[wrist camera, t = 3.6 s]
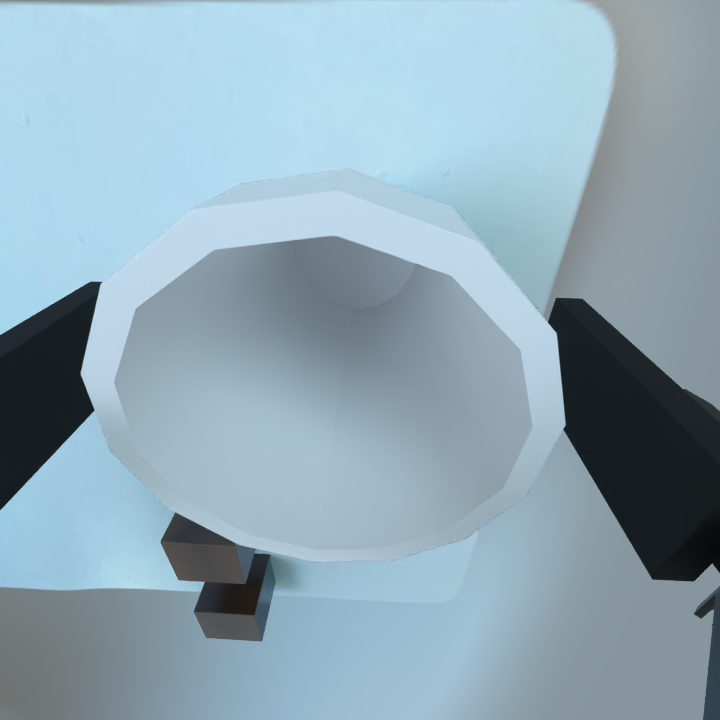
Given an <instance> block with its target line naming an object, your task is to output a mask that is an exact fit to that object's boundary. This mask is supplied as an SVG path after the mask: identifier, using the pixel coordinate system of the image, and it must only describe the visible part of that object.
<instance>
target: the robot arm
mask: <svg viewBox="0 0 720 720" xmlns="http://www.w3.org/2000/svg"><path fill="white" fill-rule="evenodd" d="M101 283H103V282H89V283H87V284H86V285H84V286H82V287H81V288H79V289H77V290H76V291H74V292H72V293H71V294H69V295H67V296H66V297H64V298H62V299H60V300H59V301H57V302H55V303H54V304H52V305H50V306H49V307H47V308H45V309H44V310H42V311H40V312H38V313H37V314H35V315H33V316H32V317H30V318H28V319H27V320H25V321H23V322H22V323H20V324H18V325H17V326H15V327H13V328H11V329H10V330H8V331H6V332H5V333H3V334H1V335H0V510H1V509H2V508H3V507H4V506H5V505H6V504H7V503H8V502H9V500H10V499H11V498H12V497H13V496H14V495H15V494H16V493H17V492H18V491H19V490H20V489H21V488H22V487H23V486H24V485H25V484H26V482H27V481H28V480H29V479H30V478H31V477H32V476H33V475H34V474H35V473H36V472H37V471H38V470H39V469H40V468H41V467H42V466H43V464H44V463H45V462H46V461H47V460H48V459H49V458H50V457H51V456H52V455H53V454H54V453H55V452H56V451H57V450H58V449H59V448H60V446H61V445H62V444H63V443H64V442H65V441H66V440H67V439H68V438H69V437H70V436H71V435H72V434H73V433H74V432H75V431H76V430H77V428H78V427H79V426H80V425H81V424H82V423H83V422H84V421H85V420H86V419H87V418H88V417H89V416H90V415H91V414H92V413H93V412H94V407H93V405H92V402H91V399H90V397H89V394H88V392H87V389H86V387H85V384H84V381H83V379H82V376H81V370H82V365H83V361H84V356H85V352H86V347H87V343H88V338H89V334H90V329H91V325H92V321H93V316H94V312H95V307H96V303H97V298H98V294H99V289H100V285H101ZM548 323H549V325H550V326H551V327H552V328H553V330H554V331H555V332H556V333H557V341H558V351H559V362H560V372H561V382H562V392H563V403H564V413H565V423H566V425H565V427H564V429H563V430H564V431H565V433H566V434H567V436H568V438H569V440H570V441H571V443H572V445H573V446H574V448H575V450H576V451H577V453H578V455H579V456H580V458H581V460H582V462H583V463H584V465H585V467H586V468H587V470H588V471H589V473H590V475H591V477H592V478H593V480H594V482H595V483H596V485H597V487H598V488H599V490H600V492H601V494H602V495H603V497H604V498H605V500H606V502H607V504H608V505H609V507H610V509H611V510H612V512H613V514H614V515H615V517H616V518H617V520H618V522H619V524H620V526H621V527H622V529H623V530H624V532H625V534H626V536H627V537H628V539H629V541H630V542H631V544H632V546H633V547H634V549H635V551H636V552H637V554H638V556H639V557H640V559H641V561H642V563H643V564H644V566H645V568H646V569H647V571H648V573H649V574H650V576H651V578H652V579H654V580H675V581H695V580H696V579H697V578H698V577H699V576H700V575H701V574H702V573H703V572H704V570H706V569H707V568H708V567H709V566H710V565H711V564H712V563H713V565H714V566H715V567H716V569H717V570H718V571H719V573H720V411H719V410H717V409H716V408H715V407H714V406H713V405H712V404H710V403H709V402H707V401H705V400H703V399H702V398H700V397H698V396H696V395H695V394H693V393H691V392H689V391H688V390H686V389H682V388H681V387H680V386H679V385H678V384H676V383H675V382H674V381H673V380H672V379H671V378H670V377H669V376H668V375H666V374H665V373H664V372H663V371H662V370H661V369H660V368H659V367H657V366H656V365H655V364H654V363H653V362H652V361H651V360H650V359H649V358H648V357H646V356H645V355H644V354H643V353H642V352H641V351H640V350H639V349H638V348H636V347H635V346H634V345H633V344H632V343H631V342H630V341H629V340H628V339H626V338H625V337H624V336H623V335H622V334H621V333H620V332H619V331H618V330H616V329H615V328H614V327H613V326H612V325H611V324H610V323H609V322H607V321H606V320H605V319H604V318H603V317H602V316H601V315H599V314H598V313H597V312H596V311H595V310H594V309H593V308H592V307H591V306H590V305H589V304H587V303H586V302H585V301H584V300H583V299H572V298H556V300H555V303H554V306H553V309H552V312H551V315H550V318H549V321H548ZM711 610H714V617H713V624H712V626H713V627H712V637H711V647H710V657H709V667H708V677H707V687H706V697H705V706H704V717H703V720H720V587H718V588H717V589H716V590H715V591H714V592H713V593H712V594H711V595H710V596H709V597H708V598H707V599H705V600H704V601H703V602H702V603H701V604H700V605H699V606H698V607H697V609H696V611H695V613H694V614H695V615H696V616H698V617H699V618H702V617H704V616H705V615H706V614H707V613H708V612H709V611H711Z"/></svg>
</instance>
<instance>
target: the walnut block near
mask: <svg viewBox="0 0 720 720" xmlns="http://www.w3.org/2000/svg"><path fill="white" fill-rule="evenodd" d="M161 544H162V546H163V549H164V551H165V553H166V555H167V557H168V559H169V561H170V563H171V565H172V567H173V569H174V572H175V574H176V576H177V578H178V580H184V581H201V582H217V583H234V584H246V580H247V577H248V573H249V570H250V567H251V563H252V560H253V556H254V553H255V548H250V547H246V546H241V545H238V544H236V543H234V542H233V541H231V540H229V539H227V538H225V537H223V536H221V535H219V534H217V533H215V532H213V531H211V530H209V529H207V528H205V527H203V526H201V525H199V524H197V523H195V522H193V521H191V520H189V519H188V518H186V517H184V516H182V515H180V514H178V513H175V514H174V516H173V518H172V520H171V522H170V524H169V526H168V528H167V530H166V532H165V534H164V536H163V538H162V540H161Z"/></svg>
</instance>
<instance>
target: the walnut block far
mask: <svg viewBox="0 0 720 720" xmlns="http://www.w3.org/2000/svg"><path fill="white" fill-rule="evenodd" d="M274 586H275V579H274V574H273V569H272V565H271V560H270V555H259V554H254V556H253V560H252V563H251V567H250V570H249V573H248V577H247V580H246V584H234V583H217V582H205V583H204V586H203V588H202V591H201V594H200V596H199V599H198V602H197V605H196V607H195V610H194V613H195V615H196V617H197V619H198V621H199V624H200V626H201V628H202V630H203V632H204V634H205V636H206V638H217V639H233V640H249V641H262V639H263V635H264V630H265V626H266V621H267V617H268V612H269V608H270V604H271V599H272V595H273V590H274Z"/></svg>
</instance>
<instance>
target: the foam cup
mask: <svg viewBox="0 0 720 720" xmlns="http://www.w3.org/2000/svg"><path fill="white" fill-rule="evenodd" d="M81 376H82V379H83V381H84V384H85V387H86V389H87V392H88V394H89V397H90V399H91V402H92V405H93V407H94V410H95V412H96V415H97V417H98V420H99V423H100V425H101V428H102V430H103V433H104V436H105V438H106V441H107V443H108V446H109V448H110V451H111V452H112V453H113V454H114V455H115V456H116V457H117V458H118V459H119V460H120V461H121V462H122V463H123V464H124V465H125V466H126V467H127V468H128V469H129V470H130V471H131V472H132V473H133V474H134V475H135V476H136V477H137V478H138V479H139V480H140V481H141V482H142V483H143V484H144V485H145V486H146V487H147V488H148V489H149V490H150V491H151V492H152V493H153V494H154V495H155V496H156V497H157V498H158V499H159V500H160V501H161V502H162V503H163V504H164V505H165V506H166V507H167V508H168V509H170V510H172V511H174V512H176V513H178V514H180V515H182V516H184V517H186V518H188V519H189V520H191V521H193V522H195V523H197V524H199V525H201V526H203V527H205V528H207V529H209V530H211V531H213V532H215V533H217V534H219V535H221V536H223V537H225V538H227V539H229V540H231V541H233V542H234V543H236V544H238V545H241V546H246V547H250V548H255V549H259V550H264V551H268V552H273V553H277V554H282V555H286V556H291V557H295V558H300V559H304V560H309V561H313V562H341V561H386V560H395V559H399V558H402V557H406V556H409V555H412V554H416V553H419V552H422V551H426V550H429V549H433V548H436V547H439V546H443V545H446V544H450V543H453V542H456V541H460V540H463V539H466V538H467V537H469V536H470V535H472V534H473V533H474V532H476V531H477V530H479V529H480V528H481V527H483V526H484V525H486V524H487V523H488V522H490V521H491V520H493V519H494V518H496V517H497V516H498V515H500V514H501V513H503V512H504V511H505V510H507V509H508V508H510V507H511V506H512V505H514V504H515V503H517V502H518V501H519V500H521V499H522V498H524V497H525V496H526V495H528V493H529V492H530V490H531V488H532V486H533V484H534V482H535V480H536V479H537V477H538V475H539V473H540V471H541V469H542V468H543V466H544V464H545V462H546V460H547V458H548V457H549V455H550V453H551V451H552V449H553V447H554V445H555V443H556V442H557V440H558V438H559V436H560V434H561V432H562V431H563V429H564V427H565V425H566V423H565V413H564V403H563V392H562V382H561V372H560V362H559V351H558V341H557V333H556V332H555V331H554V330H553V328H552V327H551V326H550V325H549V323H548V322H547V321H546V320H545V318H544V317H543V316H542V314H541V313H540V312H539V311H538V309H537V308H536V307H535V306H534V304H533V303H532V302H531V301H530V299H529V298H528V297H527V296H526V294H525V293H524V292H523V290H522V289H521V288H520V287H519V285H518V284H517V283H516V282H515V280H514V279H513V278H512V277H511V276H510V274H509V273H508V272H507V271H506V270H505V269H504V267H503V266H502V265H501V264H500V263H499V261H498V260H497V259H496V258H495V257H494V256H493V254H492V253H491V252H490V251H489V250H488V248H487V247H486V246H485V245H484V244H483V243H482V241H481V240H480V239H479V238H478V237H477V235H476V234H475V233H474V232H473V231H472V230H471V228H470V227H469V226H468V225H467V224H466V222H465V221H464V220H463V219H462V218H461V217H460V215H459V214H458V213H457V212H456V211H455V209H454V208H453V207H451V206H448V205H445V204H443V203H440V202H437V201H435V200H432V199H429V198H427V197H424V196H421V195H419V194H416V193H413V192H411V191H408V190H405V189H403V188H400V187H397V186H395V185H392V184H389V183H387V182H384V181H381V180H379V179H376V178H373V177H371V176H368V175H365V174H363V173H360V172H357V171H355V170H352V169H343V170H336V171H329V172H322V173H314V174H307V175H300V176H292V177H285V178H278V179H271V180H263V181H256V182H249V183H242V184H240V185H238V186H236V187H234V188H232V189H230V190H228V191H226V192H224V193H222V194H221V195H219V196H217V197H215V198H213V199H211V200H209V201H207V202H205V203H203V204H201V205H199V206H197V207H195V208H193V209H191V210H190V211H189V212H188V213H186V214H185V215H184V216H183V217H182V218H180V219H179V220H178V221H177V222H175V223H174V224H173V225H172V226H171V227H169V228H168V229H167V230H166V231H165V232H163V233H162V234H161V235H160V236H158V237H157V238H156V239H155V240H154V241H152V242H151V243H150V244H149V245H148V246H146V247H145V248H144V249H143V250H141V251H140V252H139V253H138V254H137V255H135V256H134V257H133V258H132V259H131V260H129V261H128V262H127V263H126V264H124V265H123V266H122V267H121V268H120V269H118V270H117V271H116V272H115V273H114V274H112V275H111V276H110V277H109V278H107V279H106V280H105V281H104V282H103V283H101V285H100V289H99V294H98V298H97V303H96V307H95V312H94V316H93V321H92V325H91V329H90V334H89V338H88V343H87V347H86V352H85V356H84V361H83V365H82V370H81Z"/></svg>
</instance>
